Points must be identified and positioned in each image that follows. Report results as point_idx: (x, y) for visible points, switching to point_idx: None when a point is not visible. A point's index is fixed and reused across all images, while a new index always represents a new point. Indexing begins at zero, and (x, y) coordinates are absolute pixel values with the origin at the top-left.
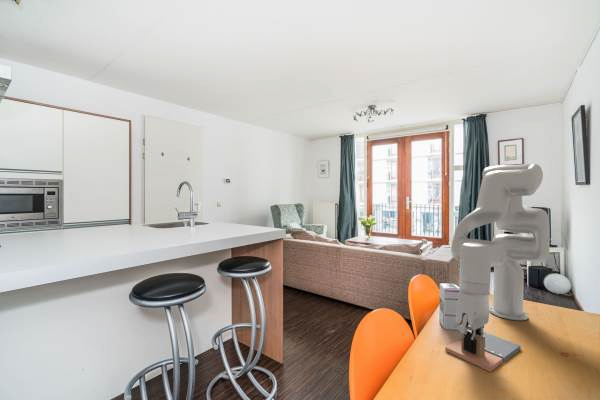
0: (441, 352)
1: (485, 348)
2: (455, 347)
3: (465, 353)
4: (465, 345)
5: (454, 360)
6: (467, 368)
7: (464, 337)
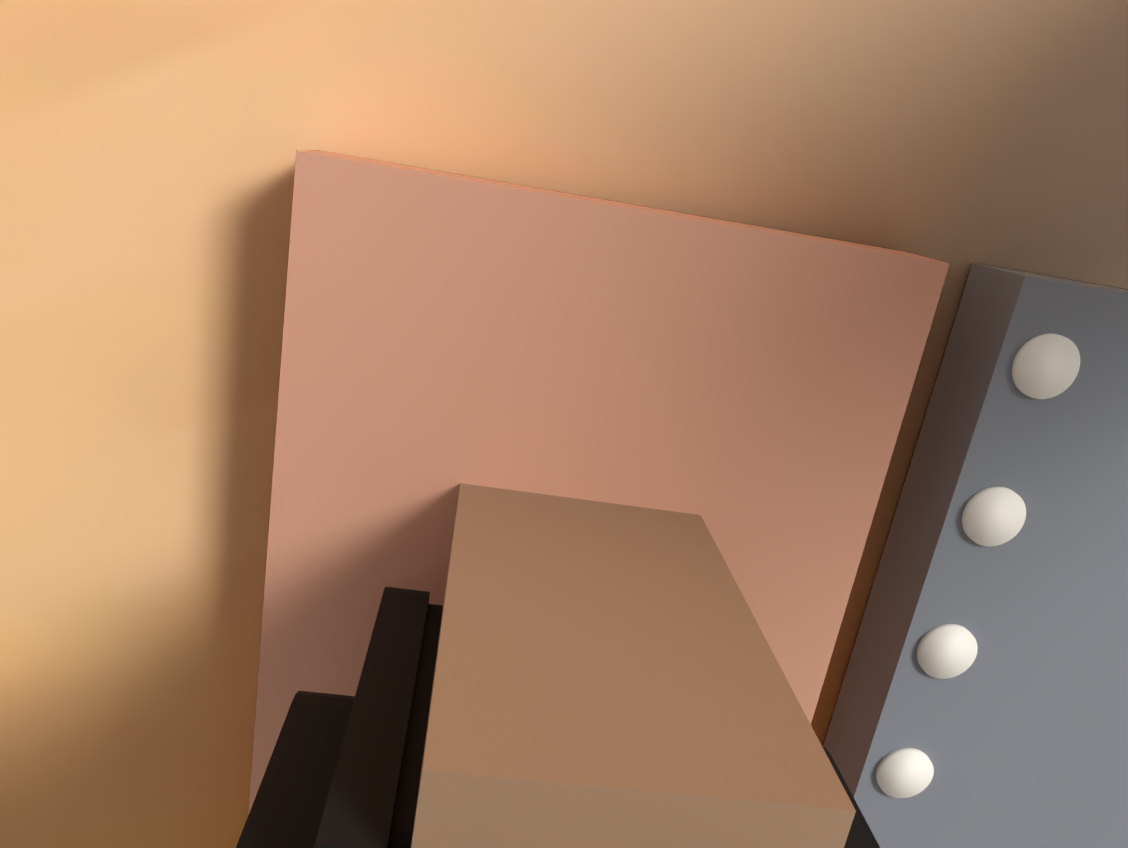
0: (181, 101)
1: (920, 776)
2: (483, 347)
3: (376, 591)
4: (282, 733)
5: (99, 432)
6: (39, 679)
7: (324, 829)
